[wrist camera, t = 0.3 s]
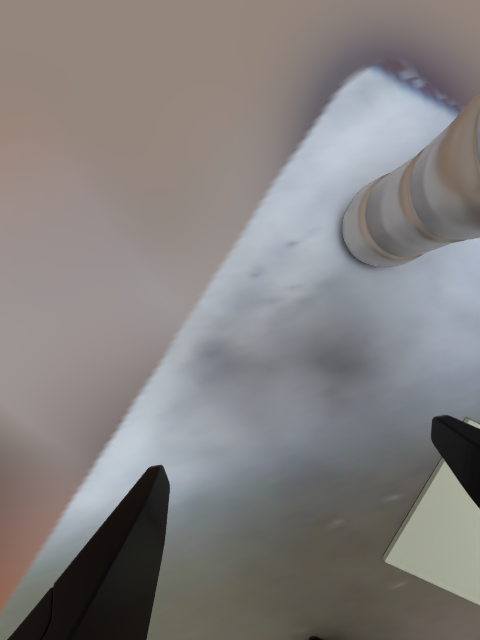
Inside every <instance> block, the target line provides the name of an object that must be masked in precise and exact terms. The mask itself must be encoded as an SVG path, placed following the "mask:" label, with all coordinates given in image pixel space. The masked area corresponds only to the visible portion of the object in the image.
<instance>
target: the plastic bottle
mask: <svg viewBox="0 0 480 640" xmlns="http://www.w3.org/2000/svg"><path fill="white" fill-rule="evenodd" d="M342 230H343V237H344V240H345V243H346V245H347V247H348V249H349V251H350V252H351V253H352V254H353V255H354V256H355V257H356V258H357V259H358V260H360V261H362V262H364V263H366V264H369V265H372V266H383V267H392V266H398V265H401V264H404V263H406V262H409V261H411V260H413V259H415V258H417V257H419V256H421V255H423V254H424V253H426V252H428V251H431V250H434V249H437V248H439V247H442V246H445V245H447V244H450V243H454V242H459V241H464V240H467V239H474V238H479V237H480V92H479V93H478V95H477V96H476V97H475V98H474V99H473V100H472V101H471V102H470V103H469V104H468V106H467V107H466V108H465V109H464V110H463V111H462V112H461V113H460V114H459V115H458V116H457V118H456V119H455V120H454V121H453V122H452V123H451V124H450V125H449V126H448V127H447V128H446V129H445V130H444V131H443V132H442V133H441V134H440V135H438V136H437V137H436V138H435V139H434V140H433V141H432V142H431V143H430V144H429V145H427V147H425V148H424V149H423V150H422V151H421V152H420V153H419V154H418V155H417V156H415V157H414V158H412V159H411V160H409V161H408V162H406V163H405V164H403V165H402V166H400V167H399V168H397V169H396V170H394V171H393V172H391V173H389V174H387V175H384V176H382V177H380V178H378V179H377V180H375V181H373V182H372V183H370V184H368V185H366V186H365V187H364V188H362V189H361V190H360V191H359V192H358V193H357V194H356V196H355V197H354V198H353V200H352V201H351V203H350V205H349V206H348V208H347V210H346V212H345V215H344V219H343V226H342Z"/></svg>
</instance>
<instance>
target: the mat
mask: <svg viewBox="0 0 480 640" xmlns="http://www.w3.org/2000/svg"><path fill="white" fill-rule="evenodd" d="M464 422H465V423H468V424H470V425H472V426H475V427H477V428H479V429H480V424H478V423H476V422H474V421H472V420H470V419H468V418H465V420H464ZM382 558H383V560H384V561H385V562H387V563H389V564H391V565H393V566H395V567H398V568H400V569H402V570H404V571H406V572H408V573H411V574H413V575H415V576H417V577H419V578H422V579H424V580H426V581H428V582H430V583H432V584H435V585H437V586H439V587H441V588H443V589H446V590H448V591H450V592H452V593H454V594H456V595H459V596H461V597H463V598H465V599H467V600H470V601H472V602H474V603H476V604H478V605H480V509H479V508H478V506H477V505H476V504H475V503H474V501H473V500H472V499H471V498H470V496H469V495H468V494H467V492H466V491H465V490H464V488H463V487H462V485H461V484H460V483H459V481H458V480H457V478H456V477H455V475H454V474H453V472H452V471H451V469H450V468H449V466H448V465H447V463H446V462H445V460H444V459H443V457H442V458H441V460H440V462H439V464H438V465H437V467H436V469H435V470H434V472H433V474H432V475H431V477H430V479H429V480H428V482H427V484H426V485H425V487H424V489H423V490H422V492H421V494H420V495H419V497H418V499H417V500H416V502H415V504H414V505H413V507H412V509H411V510H410V512H409V514H408V515H407V517H406V519H405V520H404V522H403V524H402V525H401V527H400V529H399V530H398V532H397V534H396V535H395V537H394V539H393V540H392V542H391V544H390V546H389V547H388V549H387V551H386V552H385V554H384V556H383V557H382Z"/></svg>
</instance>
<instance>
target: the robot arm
mask: <svg viewBox="0 0 480 640" xmlns="http://www.w3.org/2000/svg"><path fill="white" fill-rule="evenodd" d="M431 439H432V442H433V444H434V446H435V447H436V449H437V450H438V452H439V453H440V454H441V456H442V457H443V459H444V460H445V462H446V463H447V465H448V466H449V468H450V469H451V471H452V472H453V474H454V475H455V477H456V478H457V480H458V481H459V483H460V484H461V485H462V487H463V488H464V490H465V491H466V492H467V494H468V495H469V496H470V498H471V499H472V500H473V501H474V503H475V504H476V505H477V506H478V508H479V509H480V429H479V428H477V427H475V426H472V425H470V424H468V423H465V422H463V421H461V420H458V419H456V418H453V417H451V416H448V415H442V416H436V417H434V418H433V419H432V428H431ZM169 493H170V484H169V480H168V478H167V475H166V472H165V469H164V467H163V466H162V465H156V466H151V467H149V468H148V469H147V470H146V472H145V473H144V474H143V475H142V477H141V478H140V479H139V480H138V481H137V483H136V484H135V485H134V486H133V488H132V489H131V490H130V491H129V492H128V494H127V495H126V496H125V497H124V499H123V500H122V501H121V502H120V504H119V505H118V506H117V507H116V508H115V510H114V511H113V512H112V513H111V515H110V516H109V517H108V518H107V519H106V521H105V522H104V523H103V524H102V526H101V527H100V528H99V529H98V531H97V532H96V533H95V534H94V535H93V537H92V538H91V539H90V540H89V542H88V543H87V544H86V545H85V546H84V548H83V549H82V550H81V551H80V553H79V554H78V555H77V556H76V558H75V559H74V560H73V561H72V562H71V564H70V565H69V566H68V567H67V569H66V570H65V571H64V572H63V573H62V575H61V576H60V577H59V578H58V580H57V581H56V582H55V583H54V586H53V587H51V588H50V589H49V590H48V592H47V593H46V594H45V595H44V597H43V598H42V599H41V600H40V602H39V603H38V604H37V605H36V606H35V608H34V609H33V610H32V611H31V612H30V614H29V615H28V616H27V617H26V618H25V620H24V621H23V622H22V623H21V624H20V625H19V627H18V628H17V629H16V630H15V631H14V633H13V634H12V635H11V636H10V637H9V638H8V639H7V640H146V639H147V634H148V628H149V623H150V618H151V613H152V607H153V602H154V597H155V592H156V586H157V581H158V576H159V571H160V565H161V560H162V555H163V549H164V543H165V534H166V524H167V514H168V503H169ZM311 640H318V639H315V638H314V639H311Z"/></svg>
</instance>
